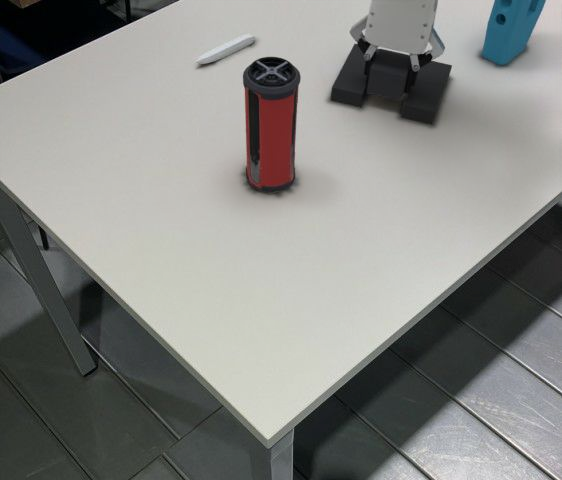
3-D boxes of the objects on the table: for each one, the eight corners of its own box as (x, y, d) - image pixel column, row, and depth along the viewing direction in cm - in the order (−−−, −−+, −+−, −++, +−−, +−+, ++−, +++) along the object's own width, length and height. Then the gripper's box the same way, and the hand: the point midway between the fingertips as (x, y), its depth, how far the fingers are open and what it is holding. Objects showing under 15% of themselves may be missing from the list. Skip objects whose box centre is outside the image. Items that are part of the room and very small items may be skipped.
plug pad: (409, 81, 107) (414, 56, 103) (400, 101, 104) (406, 76, 100) (375, 73, 108) (379, 48, 104) (366, 93, 105) (370, 68, 101)
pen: (193, 66, 112) (192, 58, 110) (252, 38, 117) (251, 29, 115) (198, 70, 111) (198, 61, 110) (257, 41, 116) (257, 33, 115)
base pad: (448, 78, 112) (452, 65, 110) (431, 124, 105) (435, 111, 103) (352, 56, 114) (354, 43, 112) (330, 100, 108) (331, 87, 105)
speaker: (235, 176, 97) (230, 68, 82) (271, 154, 100) (272, 45, 85) (270, 202, 94) (271, 95, 79) (305, 178, 97) (313, 70, 82)
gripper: (473, -32, 90) (443, 82, 106) (360, -54, 93) (346, 60, 108) (463, -6, 87) (433, 108, 102) (345, -30, 89) (333, 84, 105)
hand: (388, 82), depth 105 cm, fingers closed on plug pad, 6 cm apart
